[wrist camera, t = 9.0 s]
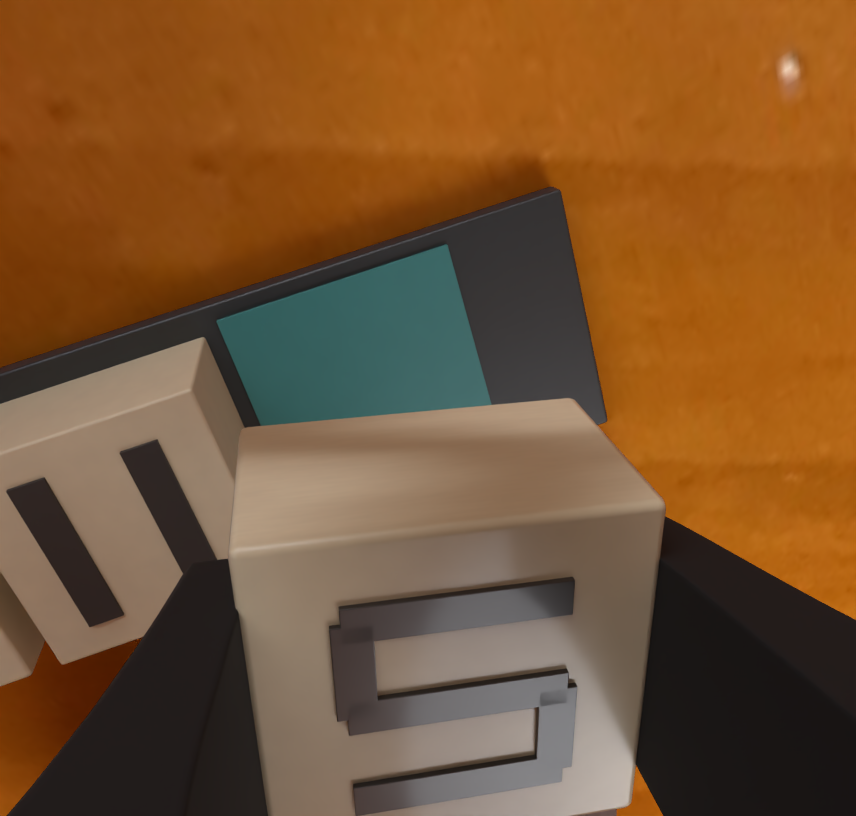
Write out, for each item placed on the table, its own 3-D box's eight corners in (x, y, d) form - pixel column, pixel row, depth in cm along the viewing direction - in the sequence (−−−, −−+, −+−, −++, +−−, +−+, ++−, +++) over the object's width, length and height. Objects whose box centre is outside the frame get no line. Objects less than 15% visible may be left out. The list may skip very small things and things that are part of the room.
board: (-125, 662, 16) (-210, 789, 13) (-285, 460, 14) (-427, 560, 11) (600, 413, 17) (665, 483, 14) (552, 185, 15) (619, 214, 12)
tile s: (273, 695, 11) (273, 879, 8) (238, 424, 9) (225, 556, 7) (558, 653, 11) (635, 813, 9) (574, 394, 10) (673, 505, 7)
